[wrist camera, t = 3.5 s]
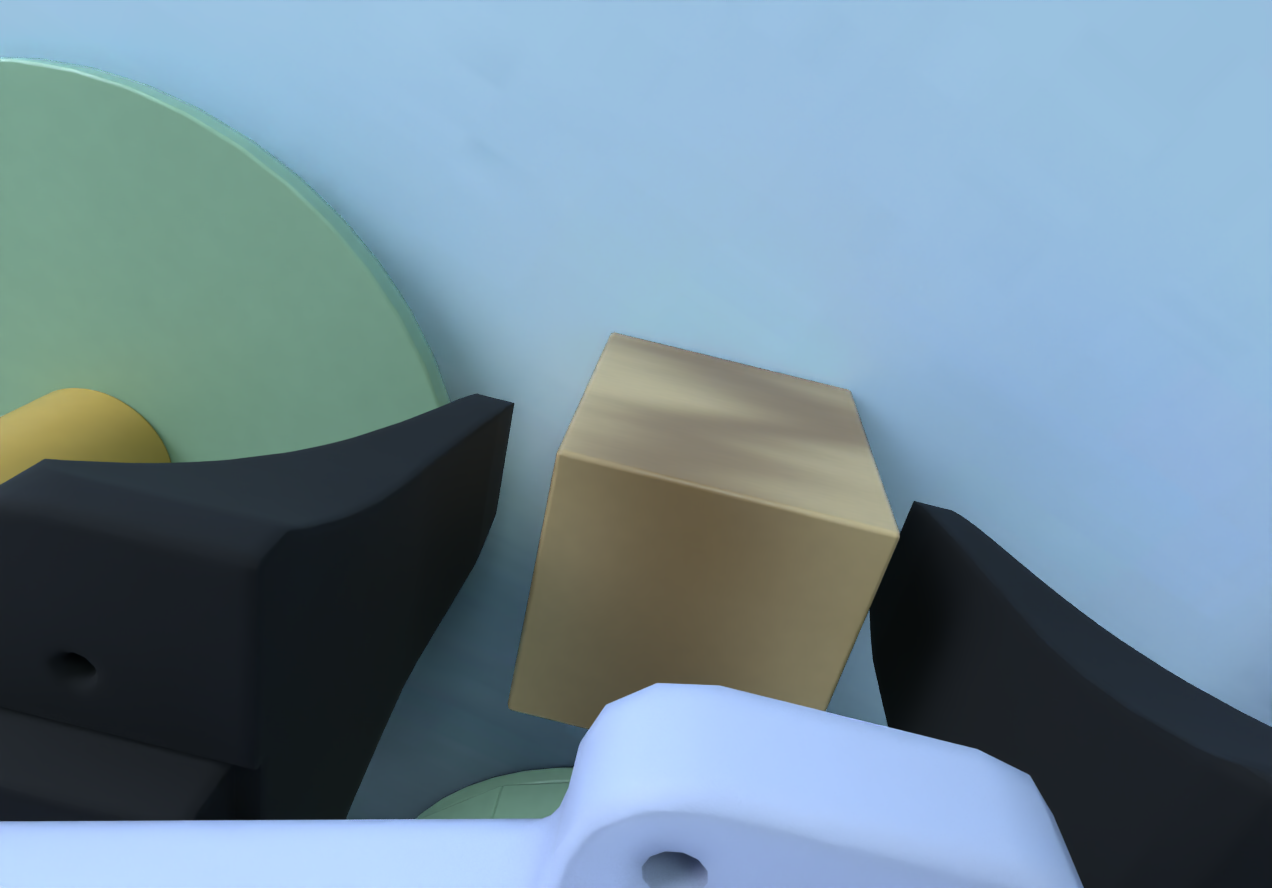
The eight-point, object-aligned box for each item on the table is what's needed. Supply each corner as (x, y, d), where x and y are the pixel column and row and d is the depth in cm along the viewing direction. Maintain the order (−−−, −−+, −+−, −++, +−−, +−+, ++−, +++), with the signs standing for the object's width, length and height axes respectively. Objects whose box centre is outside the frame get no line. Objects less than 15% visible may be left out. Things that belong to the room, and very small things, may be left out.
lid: (523, 165, 12) (413, 220, 8) (436, 752, 18) (342, 969, 14) (-274, -31, 12) (-797, -76, 8) (-120, 614, 18) (-385, 787, 14)
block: (851, 389, 13) (903, 535, 9) (780, 587, 15) (797, 783, 11) (611, 330, 13) (556, 450, 9) (567, 534, 15) (505, 710, 11)
